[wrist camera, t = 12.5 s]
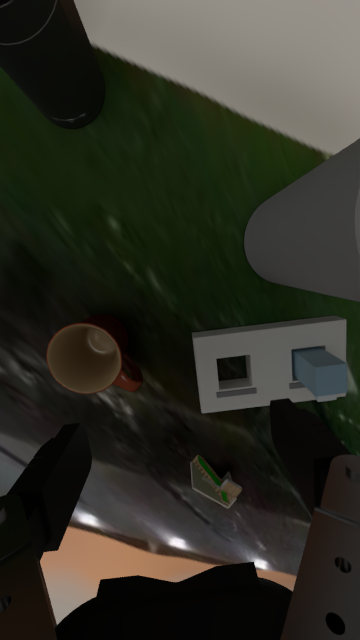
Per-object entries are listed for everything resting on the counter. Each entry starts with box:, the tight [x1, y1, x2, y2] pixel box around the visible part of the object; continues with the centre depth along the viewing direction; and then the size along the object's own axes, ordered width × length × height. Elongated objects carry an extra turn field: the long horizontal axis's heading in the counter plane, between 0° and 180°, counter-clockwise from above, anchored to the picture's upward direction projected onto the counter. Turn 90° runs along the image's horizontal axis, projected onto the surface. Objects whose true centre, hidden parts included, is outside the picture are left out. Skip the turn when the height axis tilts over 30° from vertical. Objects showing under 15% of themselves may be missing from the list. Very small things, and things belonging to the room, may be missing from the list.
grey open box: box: [190, 455, 242, 509], centre depth 43 cm, size 4×7×8 cm, turn 56°
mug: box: [47, 315, 143, 394], centre depth 37 cm, size 12×9×10 cm
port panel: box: [192, 315, 346, 413], centre depth 41 cm, size 12×22×3 cm, turn 97°
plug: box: [291, 346, 347, 402], centre depth 39 cm, size 5×4×9 cm
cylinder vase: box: [244, 139, 360, 302], centre depth 27 cm, size 12×12×25 cm
